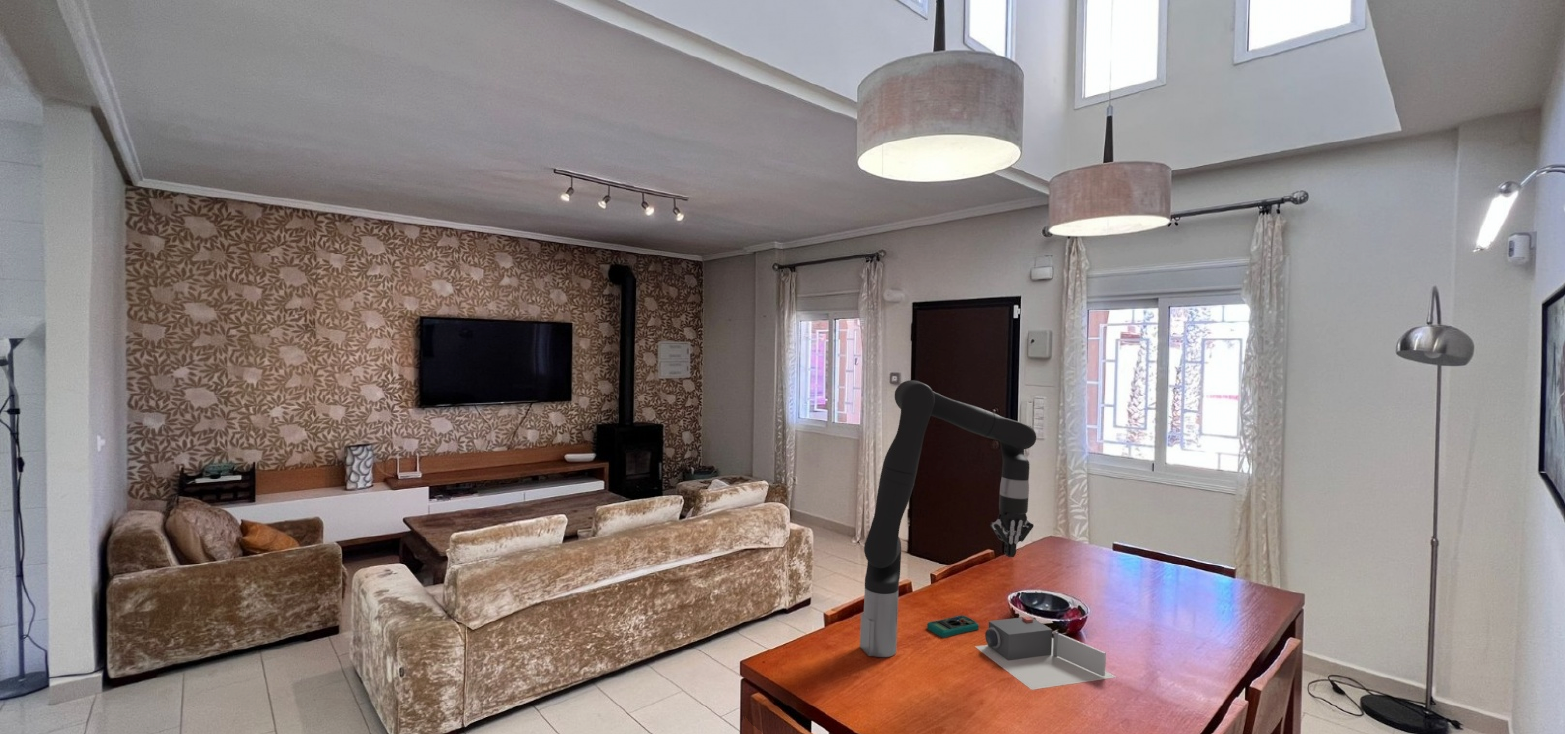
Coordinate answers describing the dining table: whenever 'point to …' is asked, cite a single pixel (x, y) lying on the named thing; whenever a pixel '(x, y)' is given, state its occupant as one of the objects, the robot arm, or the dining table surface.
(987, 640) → the camera body
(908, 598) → the dining table surface
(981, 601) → the dining table surface
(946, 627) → the digital multimeter
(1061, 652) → the side door
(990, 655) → the mat
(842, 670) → the dining table surface
